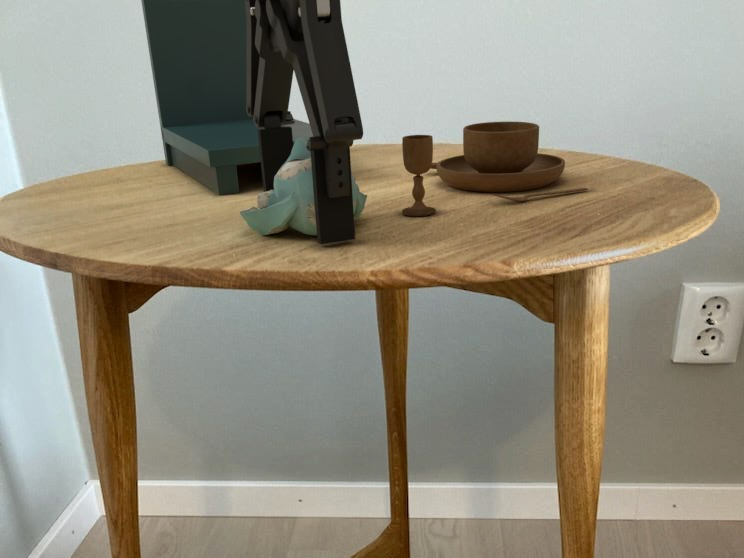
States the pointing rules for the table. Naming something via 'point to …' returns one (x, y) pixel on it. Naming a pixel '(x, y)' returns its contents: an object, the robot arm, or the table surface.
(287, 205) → the stuffed animal
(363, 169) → the table surface
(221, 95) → the teal chair-shaped stand
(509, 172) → the place setting
